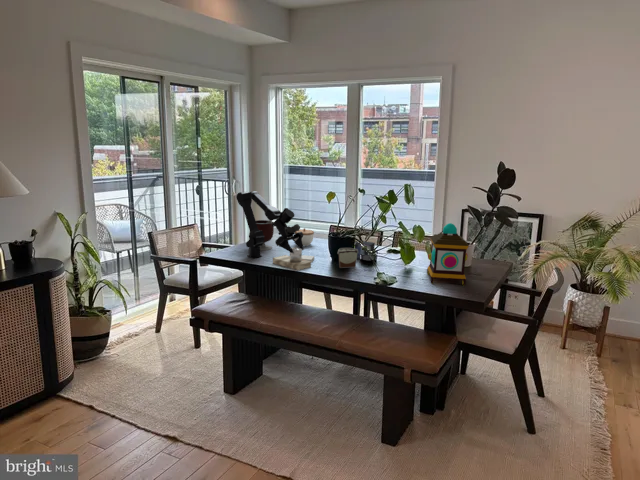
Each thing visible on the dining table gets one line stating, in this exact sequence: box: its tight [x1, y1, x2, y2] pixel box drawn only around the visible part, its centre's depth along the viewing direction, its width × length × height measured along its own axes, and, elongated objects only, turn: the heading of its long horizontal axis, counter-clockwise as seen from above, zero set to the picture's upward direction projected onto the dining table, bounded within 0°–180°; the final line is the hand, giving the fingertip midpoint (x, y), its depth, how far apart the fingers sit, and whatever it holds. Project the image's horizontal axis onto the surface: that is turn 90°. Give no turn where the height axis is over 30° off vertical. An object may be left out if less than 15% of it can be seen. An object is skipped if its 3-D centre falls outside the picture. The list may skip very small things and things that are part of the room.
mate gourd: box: [255, 219, 274, 251], centre depth 303 cm, size 16×14×20 cm
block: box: [302, 254, 315, 264], centre depth 278 cm, size 8×8×2 cm
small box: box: [354, 240, 376, 261], centre depth 284 cm, size 11×6×10 cm, turn 62°
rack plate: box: [272, 254, 312, 271], centre depth 268 cm, size 20×10×3 cm, turn 49°
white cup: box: [289, 246, 303, 263], centre depth 264 cm, size 7×7×10 cm
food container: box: [336, 247, 359, 269], centre depth 268 cm, size 12×6×10 cm, turn 108°
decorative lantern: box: [426, 222, 469, 286], centre depth 246 cm, size 20×20×30 cm
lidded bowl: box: [294, 228, 315, 247], centre depth 317 cm, size 13×13×11 cm
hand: (297, 250), depth 263 cm, fingers open, 9 cm apart
